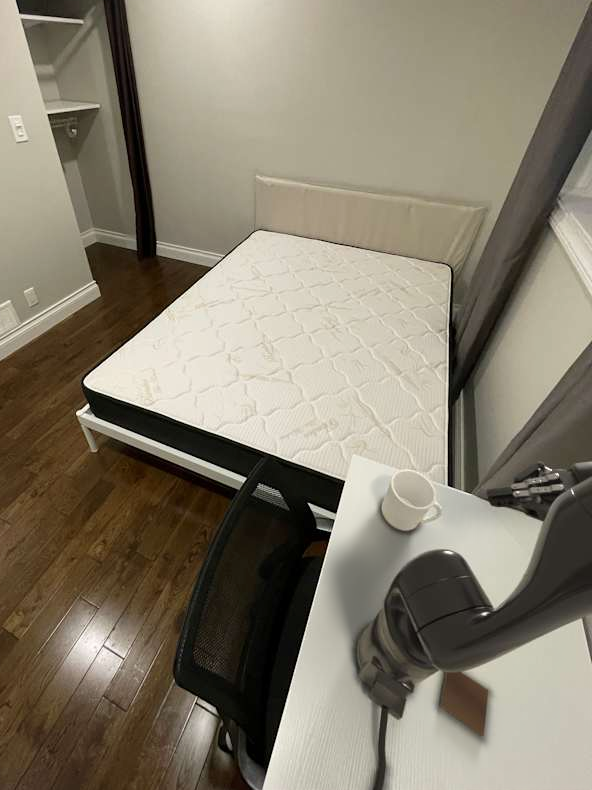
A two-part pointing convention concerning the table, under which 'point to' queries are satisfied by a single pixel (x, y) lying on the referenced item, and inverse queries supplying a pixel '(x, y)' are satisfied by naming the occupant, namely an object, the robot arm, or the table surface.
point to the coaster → (465, 700)
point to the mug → (409, 500)
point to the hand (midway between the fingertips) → (488, 498)
